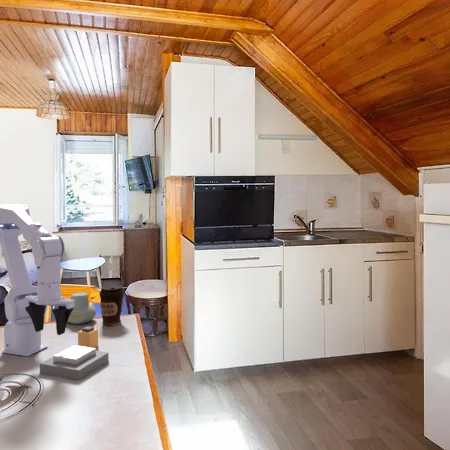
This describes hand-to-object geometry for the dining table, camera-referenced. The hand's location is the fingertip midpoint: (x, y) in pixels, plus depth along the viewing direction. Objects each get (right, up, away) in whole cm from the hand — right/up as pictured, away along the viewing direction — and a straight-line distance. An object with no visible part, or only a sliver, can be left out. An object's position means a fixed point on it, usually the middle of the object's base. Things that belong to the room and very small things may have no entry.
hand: (50, 332), depth 107 cm
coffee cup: (+7, -7, +35) cm, 36 cm away
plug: (+6, -8, +12) cm, 16 cm away
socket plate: (+8, -9, -2) cm, 12 cm away
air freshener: (-5, -6, +37) cm, 38 cm away
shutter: (+8, -6, -2) cm, 10 cm away
